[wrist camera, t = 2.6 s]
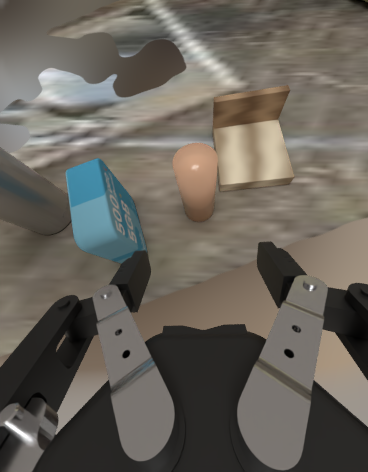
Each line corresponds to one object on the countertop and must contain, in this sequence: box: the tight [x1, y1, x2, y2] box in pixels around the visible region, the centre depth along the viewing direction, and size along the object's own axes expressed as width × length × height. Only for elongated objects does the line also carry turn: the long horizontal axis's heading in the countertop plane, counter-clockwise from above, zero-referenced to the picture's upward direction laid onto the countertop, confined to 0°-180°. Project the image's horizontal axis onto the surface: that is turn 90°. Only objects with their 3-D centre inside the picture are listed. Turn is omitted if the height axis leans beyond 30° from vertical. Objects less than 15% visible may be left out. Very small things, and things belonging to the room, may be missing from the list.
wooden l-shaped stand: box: [213, 85, 294, 191], centre depth 30 cm, size 12×14×7 cm
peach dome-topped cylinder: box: [173, 143, 218, 222], centre depth 25 cm, size 5×5×12 cm
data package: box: [66, 158, 147, 264], centre depth 26 cm, size 12×4×12 cm, turn 19°
